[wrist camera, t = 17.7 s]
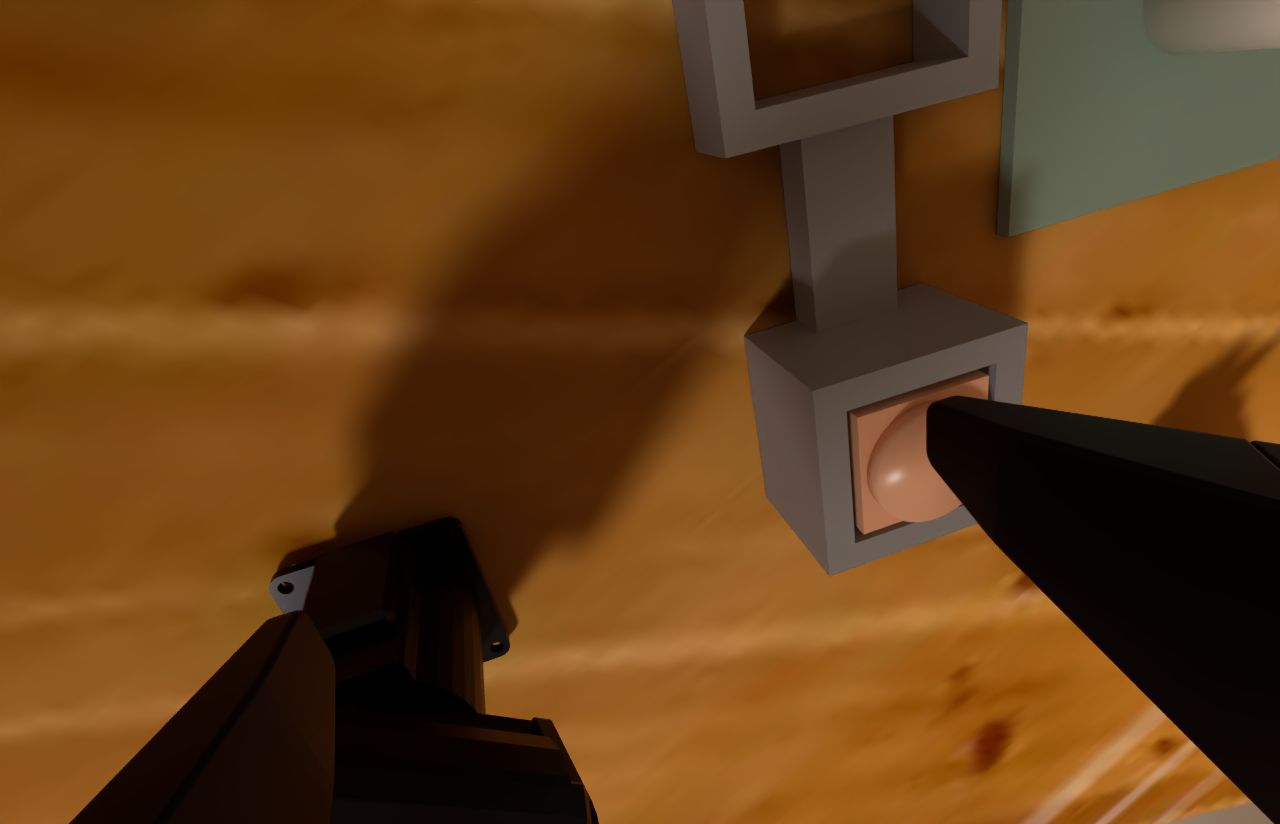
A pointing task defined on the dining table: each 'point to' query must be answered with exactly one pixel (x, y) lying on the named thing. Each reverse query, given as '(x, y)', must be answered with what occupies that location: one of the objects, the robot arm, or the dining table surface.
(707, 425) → the dining table surface
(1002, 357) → the grey long framed piece
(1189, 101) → the green mat
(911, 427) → the plunger
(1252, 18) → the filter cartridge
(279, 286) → the dining table surface
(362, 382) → the dining table surface
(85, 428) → the dining table surface
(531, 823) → the robot arm
